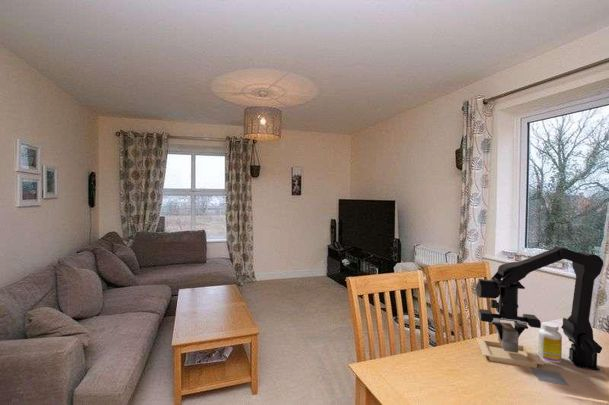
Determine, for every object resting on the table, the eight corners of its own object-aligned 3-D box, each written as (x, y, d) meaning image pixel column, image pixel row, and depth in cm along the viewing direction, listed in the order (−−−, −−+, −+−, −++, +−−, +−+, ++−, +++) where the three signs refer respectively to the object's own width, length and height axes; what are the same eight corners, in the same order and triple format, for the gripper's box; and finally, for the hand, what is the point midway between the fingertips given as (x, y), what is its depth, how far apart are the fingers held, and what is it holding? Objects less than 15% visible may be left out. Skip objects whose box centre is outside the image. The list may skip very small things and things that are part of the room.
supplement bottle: (566, 364, 110) (567, 328, 110) (547, 364, 110) (548, 328, 110) (551, 354, 117) (552, 320, 116) (533, 354, 117) (534, 320, 117)
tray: (530, 352, 119) (530, 346, 119) (543, 370, 106) (544, 363, 106) (476, 344, 125) (476, 338, 125) (483, 361, 112) (483, 354, 112)
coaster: (558, 373, 104) (558, 371, 104) (569, 387, 97) (569, 385, 97) (530, 369, 107) (530, 367, 107) (538, 382, 100) (539, 380, 100)
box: (510, 341, 119) (510, 323, 119) (518, 352, 110) (518, 333, 110) (497, 339, 120) (498, 321, 120) (504, 351, 112) (504, 331, 111)
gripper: (530, 295, 119) (529, 335, 120) (475, 290, 125) (475, 328, 126) (541, 305, 109) (540, 349, 109) (481, 299, 115) (480, 340, 115)
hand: (507, 340), depth 115 cm, fingers closed on box, 4 cm apart
